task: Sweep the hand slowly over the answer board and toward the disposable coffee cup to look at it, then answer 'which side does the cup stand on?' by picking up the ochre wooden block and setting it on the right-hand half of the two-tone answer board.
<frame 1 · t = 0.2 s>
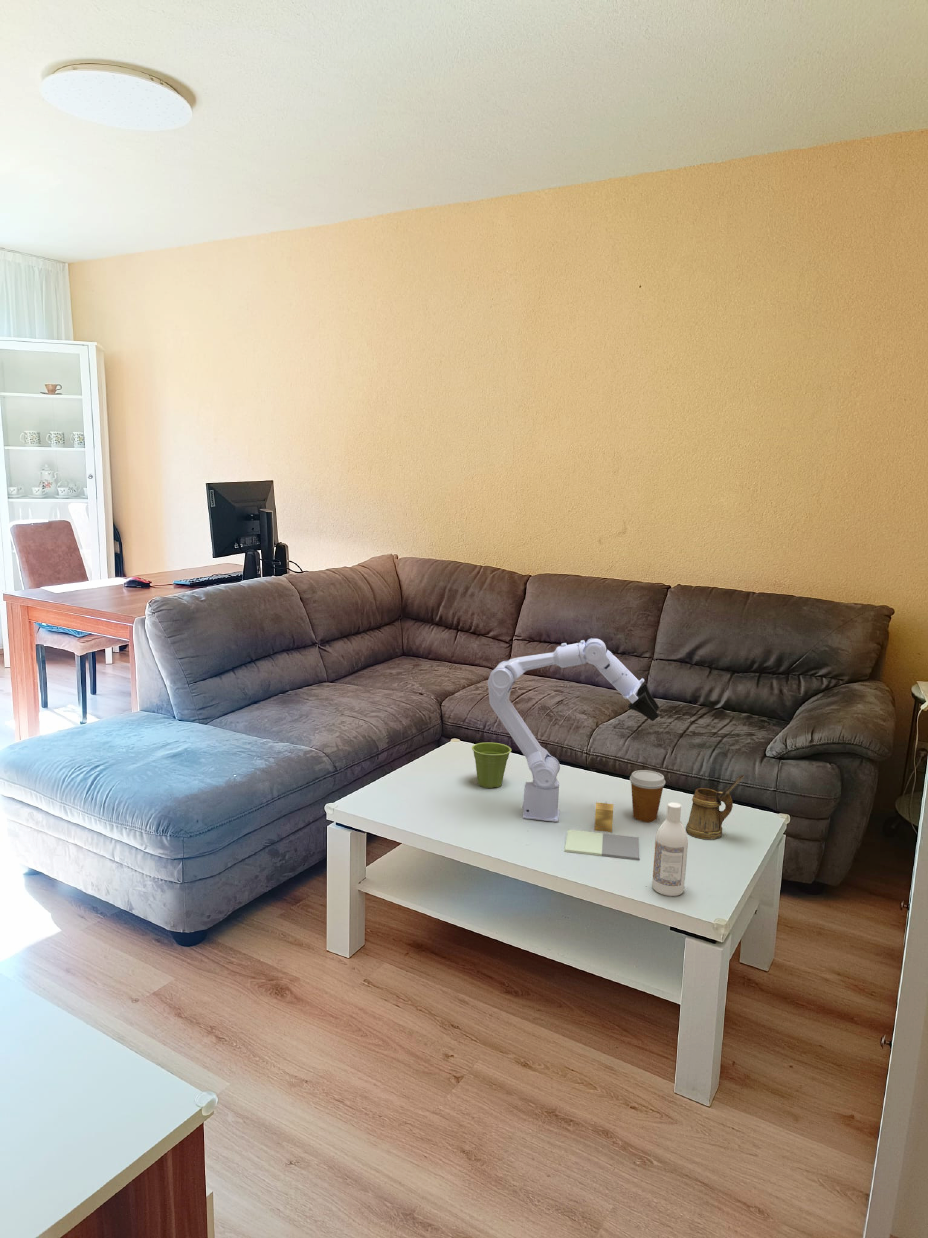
hand: (656, 714, 207), 31 cm above the table, tool tilted 45°, fingers open, 7 cm apart
answer board: (602, 845, 201), on the table
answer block: (603, 828, 212), on the table
bath foam: (667, 890, 180), on the table
wooden mug: (711, 835, 209), on the table
plant pot: (490, 785, 240), on the table
disposable coffee cup: (644, 818, 219), on the table
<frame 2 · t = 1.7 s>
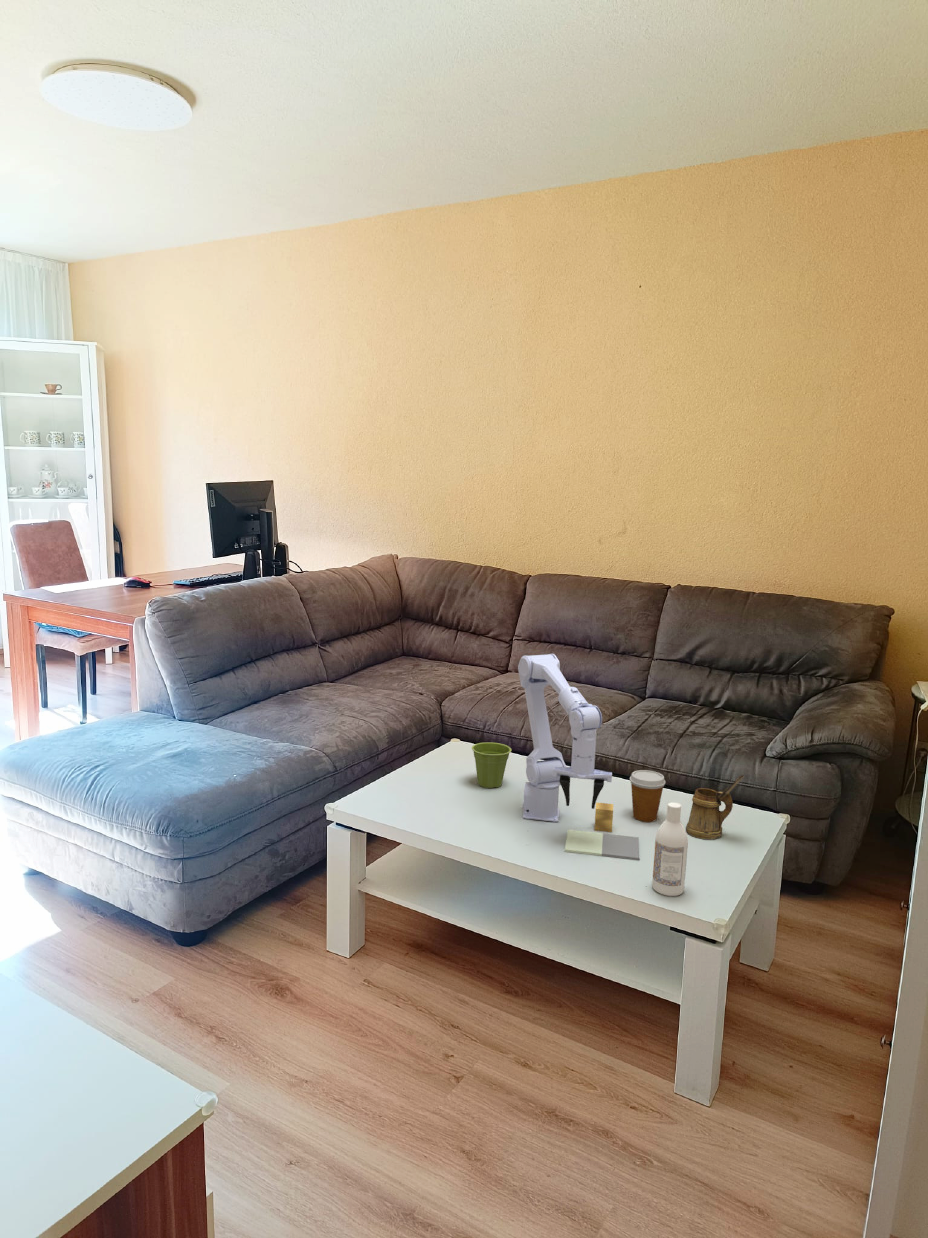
hand: (580, 806, 202), 9 cm above the table, tool pointing down, fingers open, 6 cm apart
nothing on the table moved.
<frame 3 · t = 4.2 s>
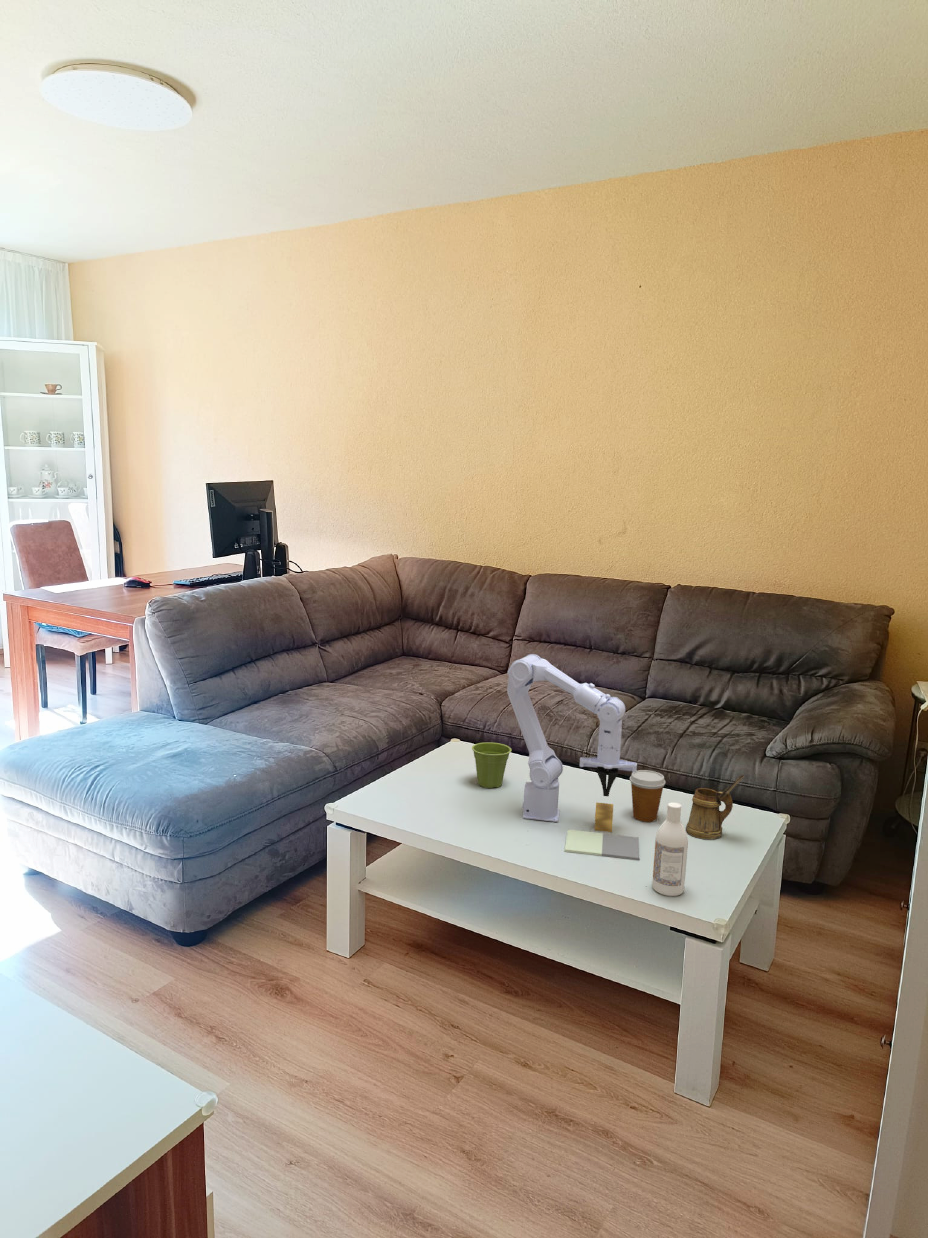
hand: (606, 795, 210), 9 cm above the table, tool pointing down, fingers closed
nothing on the table moved.
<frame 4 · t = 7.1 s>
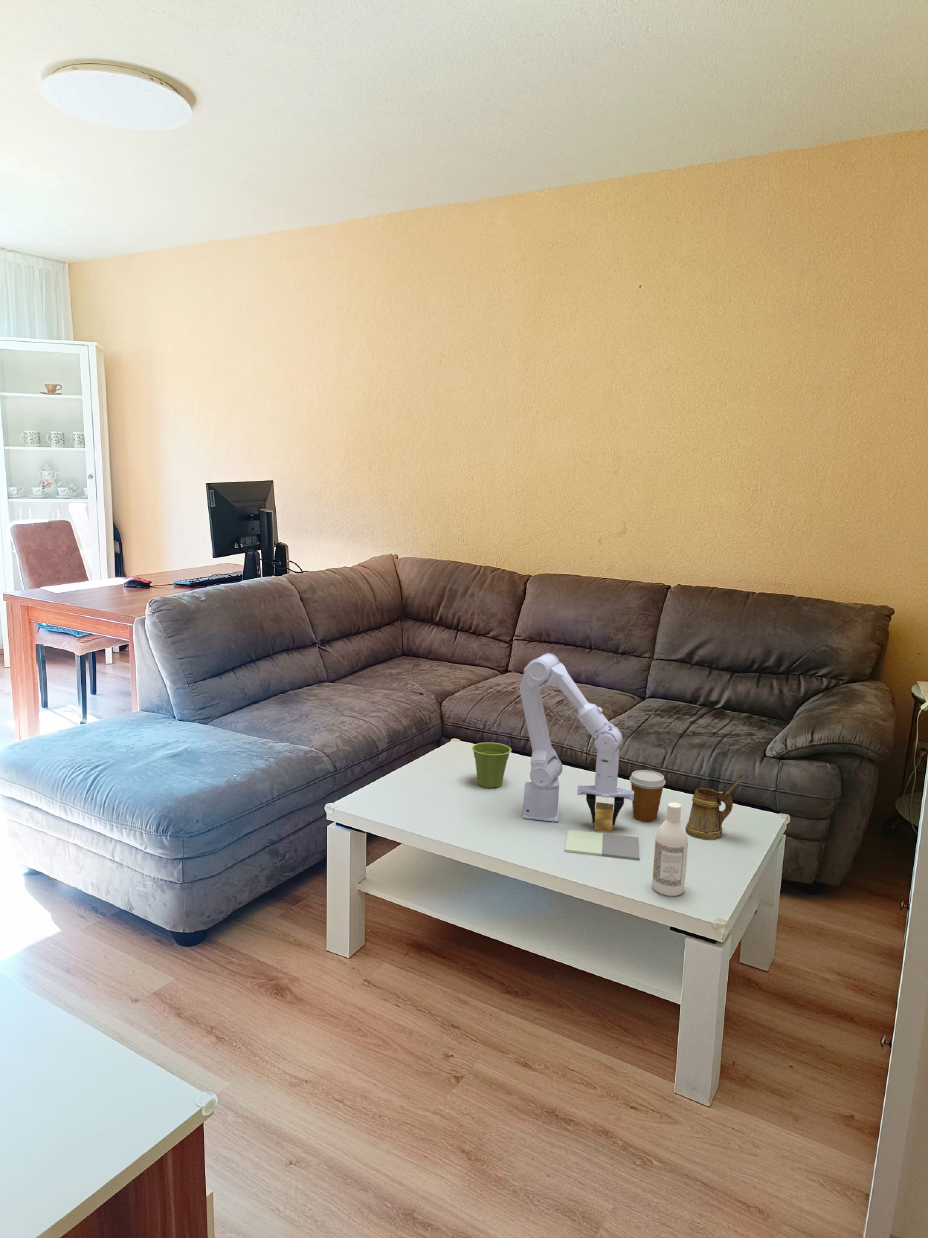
hand: (603, 822, 211), 1 cm above the table, tool pointing down, fingers closed on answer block, 4 cm apart
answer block: (603, 827, 212), on the table, touching gripper
everything else where it was.
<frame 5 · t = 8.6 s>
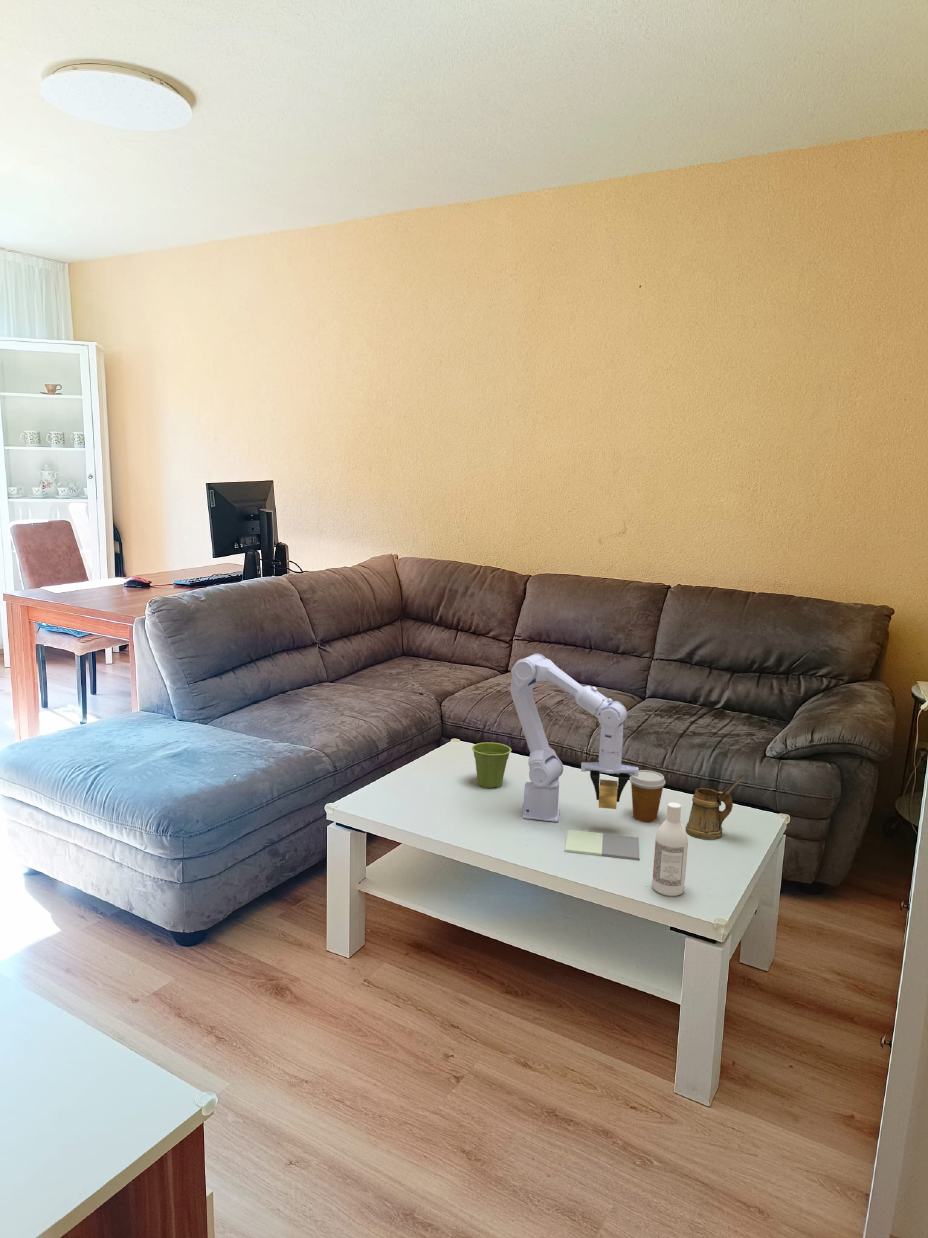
hand: (607, 799, 209), 8 cm above the table, tool pointing down, fingers closed on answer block, 4 cm apart
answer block: (607, 805, 209), point 7 cm above the table, touching gripper
everything else where it was.
when the fingers open (4 cm above the table, at t = 10.6 s): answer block drops 1 cm, resting on answer board.
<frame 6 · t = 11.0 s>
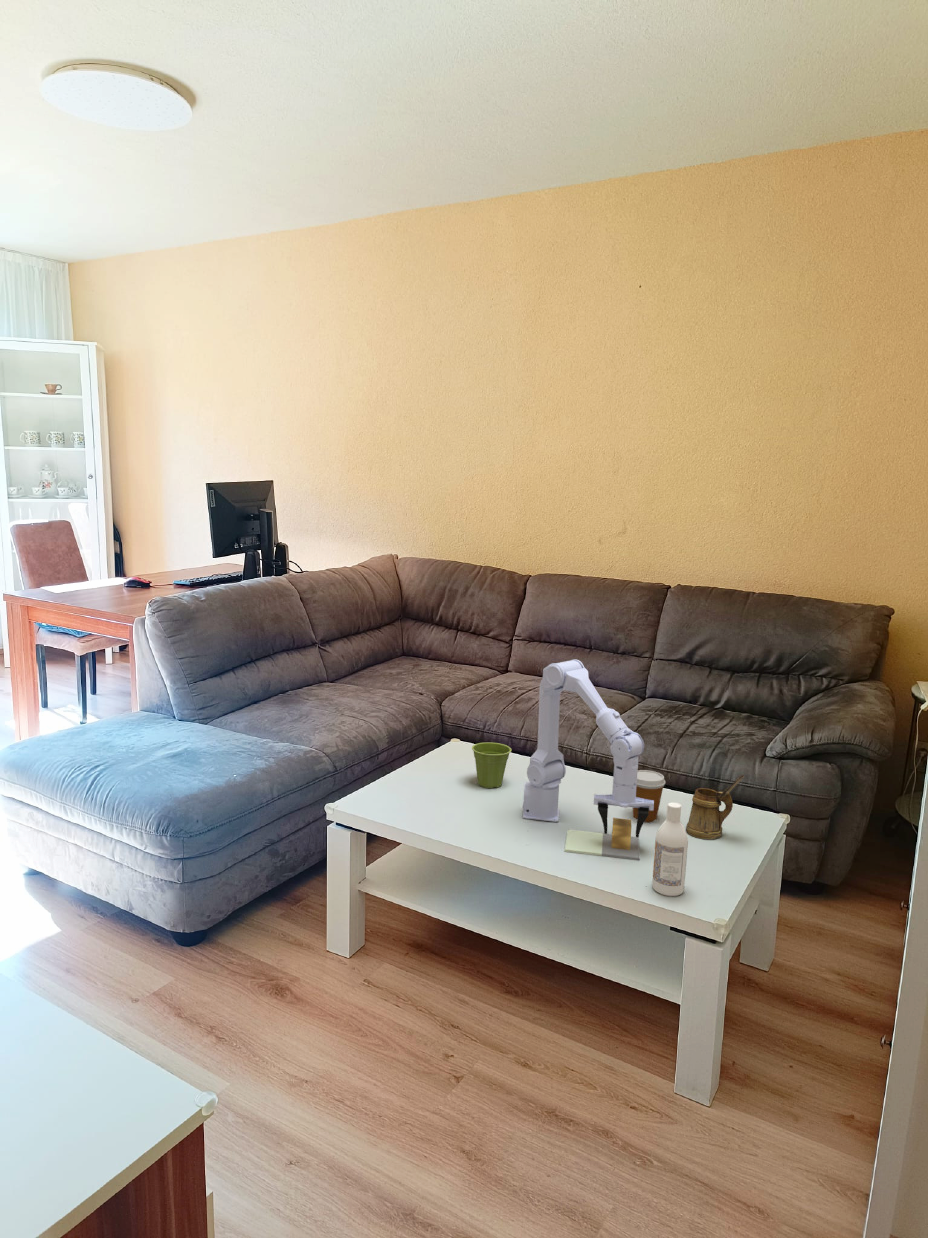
hand: (621, 834, 200), 4 cm above the table, tool pointing down, fingers open, 7 cm apart
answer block: (620, 845, 200), point 1 cm above the table, touching answer board
everything else where it was.
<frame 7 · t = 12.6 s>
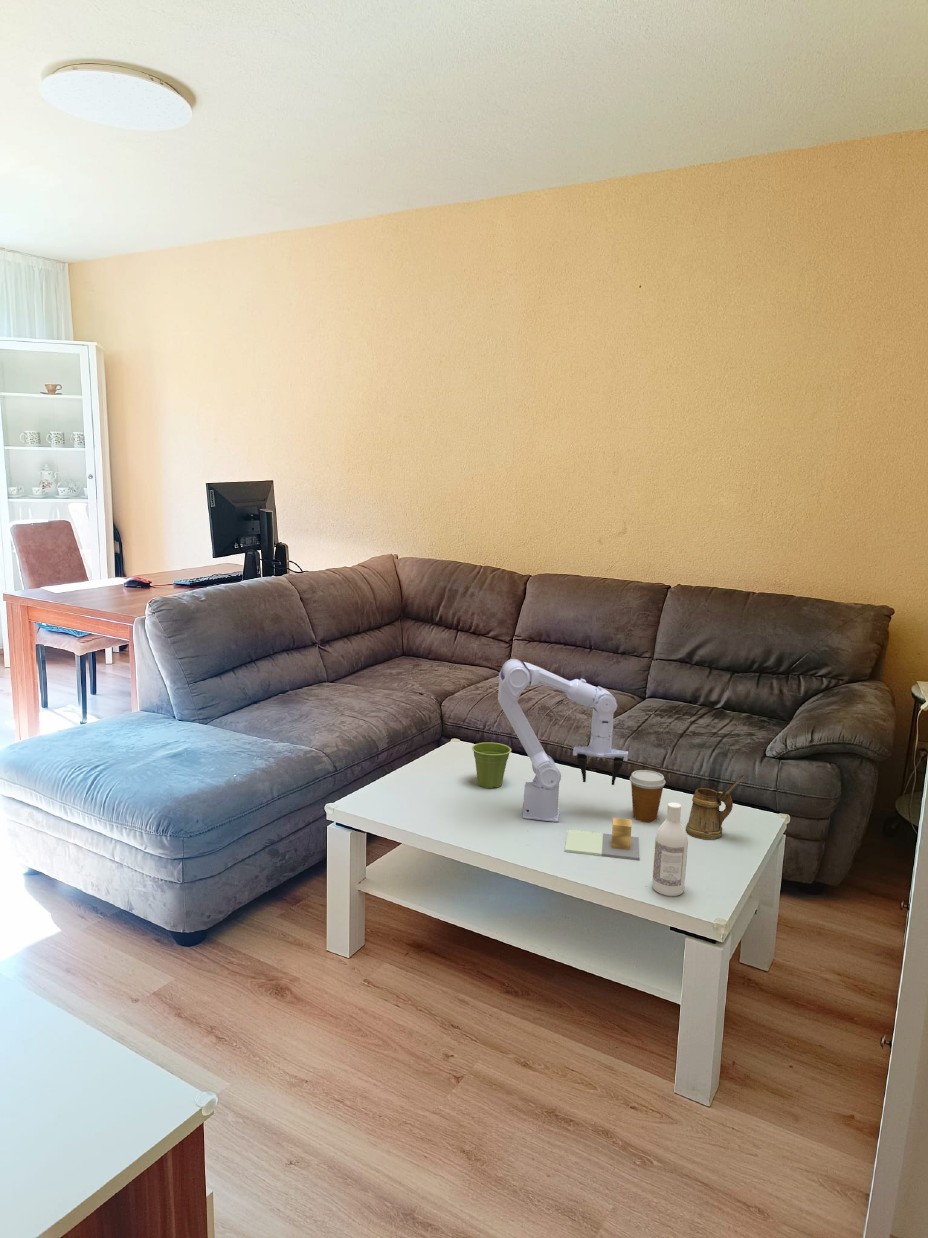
hand: (598, 782, 218), 9 cm above the table, tool pointing down, fingers open, 7 cm apart
nothing on the table moved.
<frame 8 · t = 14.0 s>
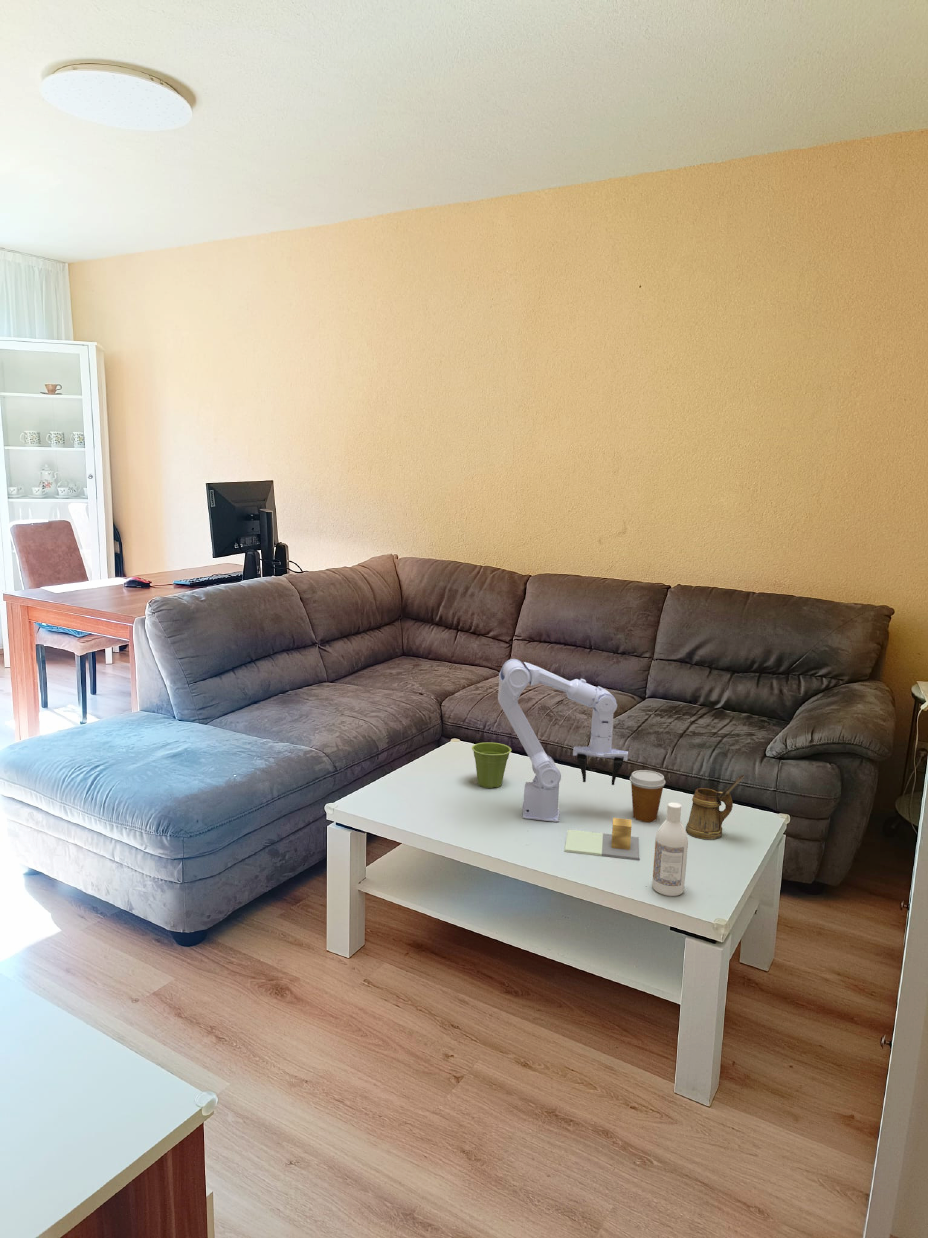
hand: (598, 782, 218), 9 cm above the table, tool pointing down, fingers open, 7 cm apart
nothing on the table moved.
at the end: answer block inside the target area (0.5 cm from its centre), point 0.6 cm above the table; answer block tilted 0°; disposable coffee cup moved 0.2 cm from its start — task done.
